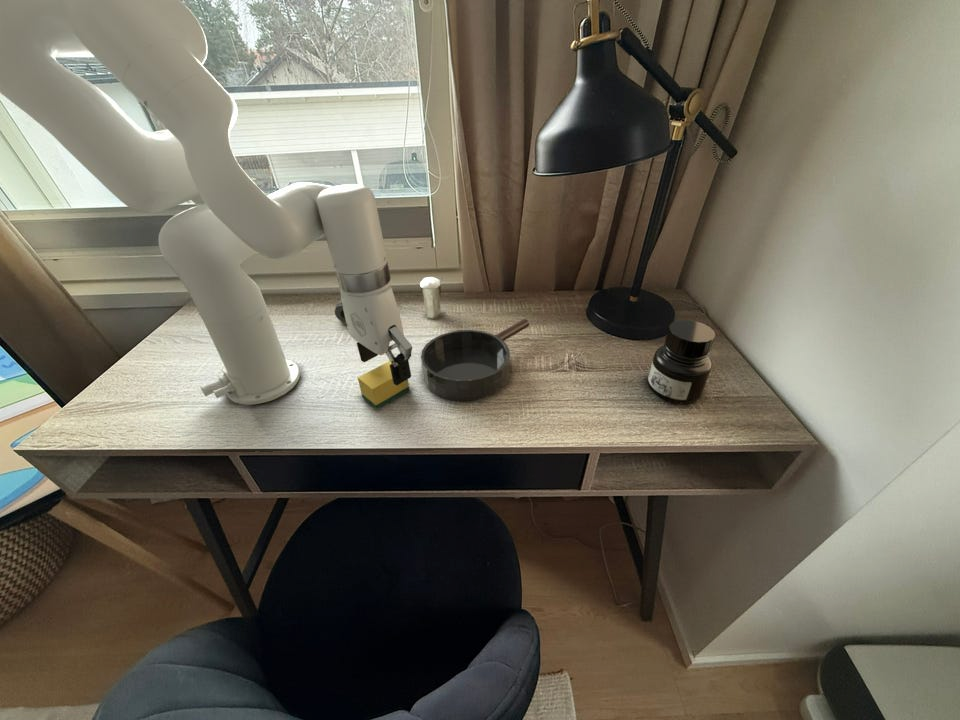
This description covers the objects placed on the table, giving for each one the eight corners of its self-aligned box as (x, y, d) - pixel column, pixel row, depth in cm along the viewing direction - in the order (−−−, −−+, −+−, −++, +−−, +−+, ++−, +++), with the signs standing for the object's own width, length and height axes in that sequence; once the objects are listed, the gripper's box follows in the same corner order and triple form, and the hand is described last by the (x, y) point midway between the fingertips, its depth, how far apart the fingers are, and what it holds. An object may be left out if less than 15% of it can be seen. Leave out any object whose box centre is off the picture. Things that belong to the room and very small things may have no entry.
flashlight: (357, 326, 94) (352, 305, 91) (335, 324, 95) (329, 303, 92) (383, 294, 106) (379, 275, 103) (362, 293, 107) (358, 273, 104)
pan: (464, 414, 70) (462, 394, 68) (405, 373, 80) (402, 354, 77) (527, 371, 79) (528, 352, 77) (467, 339, 89) (466, 321, 86)
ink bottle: (635, 379, 77) (648, 322, 70) (673, 367, 79) (690, 311, 72) (673, 412, 69) (693, 352, 62) (714, 398, 72) (738, 339, 65)
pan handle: (498, 346, 82) (498, 338, 81) (492, 342, 83) (492, 335, 82) (529, 328, 87) (529, 320, 86) (522, 325, 88) (522, 317, 87)
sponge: (376, 409, 72) (372, 389, 69) (362, 396, 74) (357, 377, 72) (409, 390, 76) (406, 370, 73) (394, 379, 78) (391, 359, 76)
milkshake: (443, 321, 95) (440, 280, 89) (421, 319, 96) (416, 279, 90) (449, 311, 99) (446, 271, 93) (427, 309, 100) (422, 270, 94)
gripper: (313, 269, 65) (340, 359, 75) (375, 303, 55) (397, 402, 65) (355, 254, 69) (376, 342, 79) (420, 283, 59) (435, 379, 69)
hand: (385, 369), depth 72 cm, fingers open, 9 cm apart
